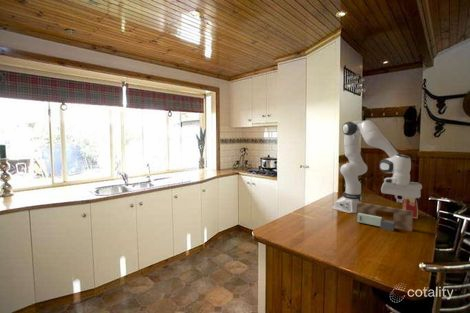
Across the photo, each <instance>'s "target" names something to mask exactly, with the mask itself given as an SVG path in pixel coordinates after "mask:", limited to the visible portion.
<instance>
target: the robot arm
mask: <svg viewBox="0 0 470 313" xmlns="http://www.w3.org/2000/svg"><path fill="white" fill-rule="evenodd" d="M341 127H342V133H343V134H344V135H343V149H344V156H345V157H346V158H347V160H348V162H346V163H343V164H342V165H341V166H340V169H339V172H340V174H341V175H342V176H343V178H344V182H345V191H344V192H342V196H340V197H339V198H338V199H337V200H336V201H335V203H334V205H332V206H331V208H332V210H336V211H339V212H345V213H348V214H354V213H355V214H357V202H360V203H362V183H361V182H360V180H359V176H362V175H364V174H366V172H368V165H367V164H366V163H365V161H364V159H363V158H362V154H361V148H360V147H361V146H360V137H362V138H363V141H364V142H365V143H366V144H367V145H368V146H370V147H373V148H377V149H380V150H382V151H384V152H385V153H386V154H387V156H388V157H386V158H382V159H381V160H380V161H379V165H378V166H379V170H380V172H382V173H384V174H392V176H391V177H385V178H384V179H383V181H384V182H383V183H382V185H381V187H380V191H381V194H386V195H392V196H393V195H394V198H395V200H396V203H399V204H400V203H401V204H403V199H404V198H405V196H406V197H413V198H416V199H420V198H421V190H422V189H423V185H422V183H419V182H415V181H411V174H410V172H411V170H412V161H411V157H410V155H406V154H402V153H400V152H399V151H398V149H397V148H396V147H395V146H394V144H393V143H392V142H391V141H390V140H389V139H387V138H386V137H385V136H384V135H383V134H382V133H381V131H380V129H379V127H378V126H376V123H374V122H373V121H372V120H368V119H367V120H353V121H347V122H345V123H343V125H342V126H341ZM398 196H401V199H400V198H398Z"/></svg>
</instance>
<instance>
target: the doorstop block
mask: <svg viewBox="0 0 470 313" xmlns="http://www.w3.org/2000/svg"><path fill="white" fill-rule="evenodd" d="M394 226H395V222H394V221H393V220H387V219H383V218H382V220H381V226H379V228H380V229H381V230H386V231H389V232H390V231H391V232H394V231H395V228H394Z"/></svg>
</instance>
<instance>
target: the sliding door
mask: <svg viewBox="0 0 470 313" xmlns="http://www.w3.org/2000/svg"><path fill="white" fill-rule="evenodd" d="M356 215H357V220H356V221H357V222H358V223H361V224H366V225H371V226H376V227H380V226H381V220H382V219H383V218H382V216H377V215H376V216H373V215H367V214H362V213H358V214H357V213H356Z"/></svg>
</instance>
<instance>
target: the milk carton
mask: <svg viewBox="0 0 470 313" xmlns="http://www.w3.org/2000/svg"><path fill="white" fill-rule="evenodd" d="M401 209H404V210H410V211H413V219H418V217H419V215H418V214H419V210H418V209H419V208H418V201H417V198H413V197H406V196H405V198H404V199H403V201H402V208H401Z"/></svg>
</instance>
